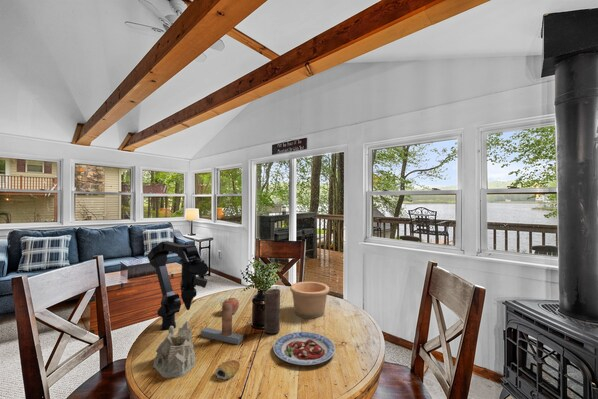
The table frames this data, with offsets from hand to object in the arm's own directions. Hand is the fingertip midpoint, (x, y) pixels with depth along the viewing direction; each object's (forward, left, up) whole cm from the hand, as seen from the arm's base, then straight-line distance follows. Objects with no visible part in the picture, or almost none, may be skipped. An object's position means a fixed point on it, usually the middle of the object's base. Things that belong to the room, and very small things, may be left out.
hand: (187, 306), depth 129 cm
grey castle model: (+23, -6, -13) cm, 28 cm away
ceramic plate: (+34, +44, -14) cm, 57 cm away
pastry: (+36, +12, -14) cm, 41 cm away
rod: (+12, +16, -10) cm, 23 cm away
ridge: (+10, +14, -13) cm, 22 cm away
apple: (-17, +23, -13) cm, 32 cm away
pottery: (-1, +64, -13) cm, 65 cm away
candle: (+13, +37, -13) cm, 41 cm away
